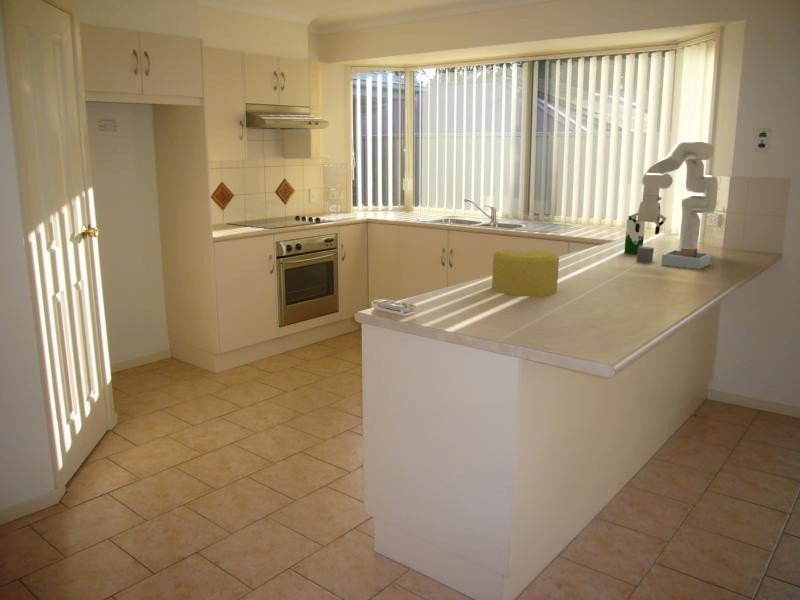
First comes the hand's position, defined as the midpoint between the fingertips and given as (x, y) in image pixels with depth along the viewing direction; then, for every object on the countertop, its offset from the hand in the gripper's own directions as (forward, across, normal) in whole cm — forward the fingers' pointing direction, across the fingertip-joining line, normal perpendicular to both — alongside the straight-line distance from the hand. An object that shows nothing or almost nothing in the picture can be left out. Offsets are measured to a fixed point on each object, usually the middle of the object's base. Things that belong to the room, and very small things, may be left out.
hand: (646, 233), depth 346 cm
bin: (+14, -19, -5) cm, 24 cm away
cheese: (+16, +14, +102) cm, 105 cm away
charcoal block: (+14, 0, -1) cm, 15 cm away
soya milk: (+14, +14, -24) cm, 31 cm away
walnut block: (+13, -19, -9) cm, 25 cm away
